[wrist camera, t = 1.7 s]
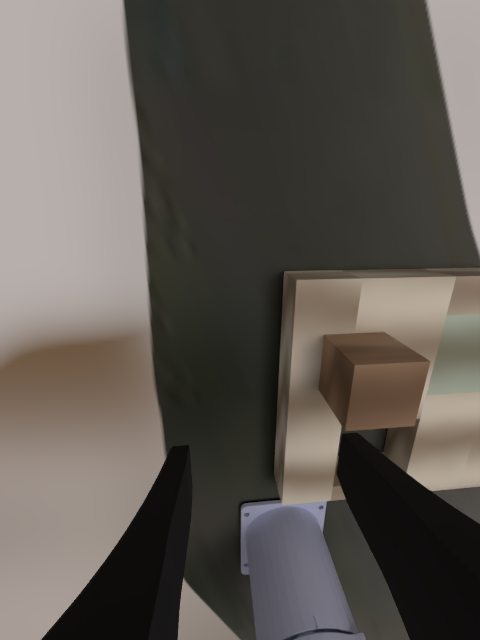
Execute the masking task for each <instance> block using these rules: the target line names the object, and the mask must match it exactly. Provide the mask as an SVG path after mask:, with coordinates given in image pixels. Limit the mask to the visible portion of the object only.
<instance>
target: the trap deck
mask: <svg viewBox="0 0 480 640" xmlns="http://www.w3.org/2000/svg"><path fill="white" fill-rule="evenodd" d="M376 332H385V333H387V334H388V335H390V336H392V337H393V338H395V339H396V340H398V341H399V342H401V343H403V344H404V345H406V346H407V347H409V348H410V349H412V350H414V351H415V352H417V353H418V354H420V355H421V356H423V357H425V358H426V359H428V360H429V361H431V362H430V366H429V370H428V374H427V378H426V382H425V386H424V390H423V394H422V398H421V402H420V406H419V410H418V414H417V418H416V422H415V426H408V427H395V428H388V431H387V436H386V441H385V445H384V450H383V452H381V453H382V454H384V455H385V456H386V457H387V458H389V459H390V460H391V461H392V462H394V463H395V464H396V465H397V466H399V467H400V468H401V469H402V470H404V471H405V472H406V473H407V474H409V475H410V476H411V477H413V478H414V479H415V480H416V481H418V482H419V483H420V484H422V485H423V486H424V487H426V488H427V489H429V490H430V491H436V490H447V489H457V488H467V487H478V486H480V268H432V269H378V270H324V271H284V282H283V302H282V322H281V342H280V362H279V382H278V402H277V422H276V442H275V462H274V476H275V480H276V484H277V488H278V492H279V496H280V500H281V504H282V505H291V504H301V503H312V502H322V501H332V500H343V499H346V498H345V496H344V493H343V491H342V488H341V485H340V482H339V480H338V477H337V474H336V472H337V466H338V459H339V455H337V454H338V447H339V440H340V433H341V424H340V422H339V421H338V419H337V418H336V416H335V415H334V413H333V411H332V410H331V408H330V407H329V405H328V404H327V402H326V401H325V399H324V397H323V396H322V394H321V393H320V391H319V390H318V389H319V380H320V370H321V361H322V351H323V342H324V335H326V334H351V333H376Z"/></svg>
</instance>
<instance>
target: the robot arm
mask: <svg viewBox="0 0 480 640" xmlns="http://www.w3.org/2000/svg"><path fill="white" fill-rule="evenodd" d="M336 474H337V477H338V480H339V482H340V485H341V488H342V491H343V493H344V496H345V498H346V501H347V503H348V505H349V507H350V509H351V511H352V513H353V515H354V517H355V519H356V521H357V523H358V525H359V527H360V529H361V531H362V533H363V535H364V537H365V539H366V541H367V543H368V545H369V547H370V549H371V551H372V553H373V555H374V557H375V559H376V561H377V563H378V565H379V567H380V569H381V571H382V573H383V575H384V578H385V580H386V582H387V584H388V586H389V589H390V591H391V594H392V596H393V598H394V601H395V603H396V606H397V608H398V611H399V613H400V615H401V618H402V620H403V623H404V625H405V628H406V630H407V633H408V636H409V638H410V640H480V524H479V523H477V522H476V521H474V520H472V519H471V518H469V517H468V516H466V515H465V514H463V513H462V512H460V511H459V510H457V509H456V508H454V507H453V506H451V505H450V504H448V503H447V502H445V501H444V500H442V499H441V498H440V497H438V496H437V495H436V494H434V493H433V492H431V491H430V490H429V489H427V488H426V487H424V486H423V485H422V484H420V483H419V482H418V481H416V480H415V479H414V478H413V477H411V476H410V475H409V474H407V473H406V472H405V471H404V470H402V469H401V468H400V467H399V466H397V465H396V464H395V463H394V462H392V461H391V460H390V459H389V458H387V457H386V456H385V455H384V454H382V453H381V452H380V451H379V450H378V449H376V448H375V447H374V446H373V445H372V444H370V443H369V442H368V441H367V440H365V439H364V438H363V437H362V436H360V435H359V434H358V433H347V434H342V438H341V445H340V452H339V459H338V466H337V472H336ZM326 504H327V502H326V501H322V502H312V503H301V504H291V505H282V504H281V500H274V501H263V502H253V503H245V504H243V505H242V506H241V573H242V574H244V575H247V574H249V575H250V584H251V593H252V603H253V612H254V621H255V630H256V639H257V640H366V639H365V636H364V634H363V633H358V631H357V628H356V626H355V623H354V620H353V617H352V614H351V612H350V609H349V606H348V603H347V600H346V598H345V595H344V592H343V589H342V587H341V584H340V581H339V578H338V575H337V573H336V570H335V567H334V564H333V561H332V559H331V556H330V553H329V550H328V547H327V545H326V542H325V539H324V536H323V525H324V518H325V511H326ZM191 509H192V474H191V461H190V448H189V445H185V446H173V447H172V448H171V449H170V450H169V453H168V455H167V458H166V460H165V462H164V464H163V467H162V469H161V471H160V473H159V475H158V477H157V479H156V481H155V482H154V484H153V486H152V488H151V490H150V491H149V493H148V495H147V497H146V499H145V501H144V503H143V504H142V506H141V507H140V509H139V510H138V512H137V514H136V516H135V517H134V519H133V520H132V522H131V524H130V525H129V527H128V528H127V530H126V531H125V533H124V534H123V536H122V537H121V539H120V540H119V542H118V543H117V545H116V546H115V547H114V549H113V550H112V552H111V553H110V555H109V556H108V557H107V559H106V560H105V562H104V563H103V564H102V566H101V567H100V568H99V569H98V571H97V572H96V573H95V575H94V576H93V577H92V579H91V580H90V582H89V583H88V584H87V585H86V587H85V588H84V589H83V591H82V592H81V593H80V594H79V595H78V597H77V598H76V599H75V600H74V602H73V603H72V604H71V605H70V606H69V608H68V609H67V610H66V611H65V612H64V613H63V615H62V616H61V617H60V618H59V619H58V621H57V622H56V623H55V624H54V625H53V626H52V628H51V629H50V630H49V631H48V632H47V634H46V635H45V636H44V637H43V638H42V640H177V639H178V622H179V609H180V599H181V590H182V582H183V575H184V567H185V560H186V552H187V545H188V537H189V529H190V522H191Z"/></svg>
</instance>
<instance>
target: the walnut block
mask: <svg viewBox="0 0 480 640" xmlns="http://www.w3.org/2000/svg"><path fill="white" fill-rule="evenodd" d="M430 362H431V361H429V360H428V359H426V358H425V357H423V356H421V355H420V354H418V353H417V352H415V351H414V350H412V349H410V348H409V347H407V346H406V345H404V344H403V343H401V342H399V341H398V340H396V339H395V338H393V337H392V336H390V335H388V334H387V333H385V332H376V333H351V334H326V335H324V342H323V351H322V361H321V370H320V380H319V389H318V390H319V391H320V393H321V394H322V396H323V397H324V399H325V401H326V402H327V404H328V405H329V407H330V408H331V410H332V411H333V413H334V415H335V416H336V418H337V419H338V421H339V422H340V424H341V426H342V427H343V429H344V430H345V431H354V430H367V429H381V428H395V427H408V426H415V422H416V418H417V414H418V410H419V406H420V402H421V398H422V394H423V390H424V386H425V382H426V378H427V374H428V370H429V366H430Z"/></svg>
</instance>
